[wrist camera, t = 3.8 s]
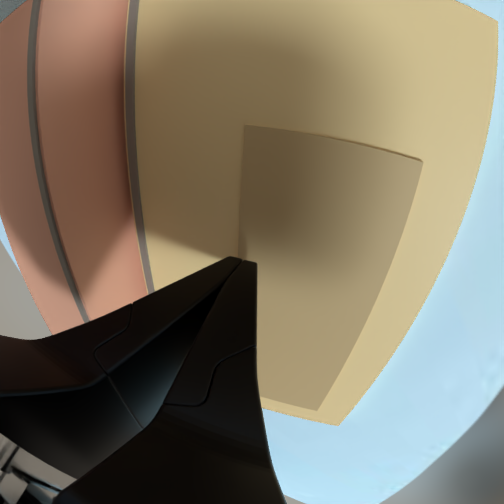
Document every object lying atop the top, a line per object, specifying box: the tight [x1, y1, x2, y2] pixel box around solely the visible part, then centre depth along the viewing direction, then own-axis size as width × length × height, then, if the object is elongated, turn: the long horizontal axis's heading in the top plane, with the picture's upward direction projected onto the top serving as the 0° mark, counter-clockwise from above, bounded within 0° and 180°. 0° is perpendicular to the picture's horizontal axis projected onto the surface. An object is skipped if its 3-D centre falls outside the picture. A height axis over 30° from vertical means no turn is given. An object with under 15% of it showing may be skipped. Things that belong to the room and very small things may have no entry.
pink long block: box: [0, 0, 148, 335], centre depth 10 cm, size 18×5×4 cm, turn 176°
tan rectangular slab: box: [124, 0, 498, 426], centre depth 9 cm, size 18×10×1 cm, turn 176°
